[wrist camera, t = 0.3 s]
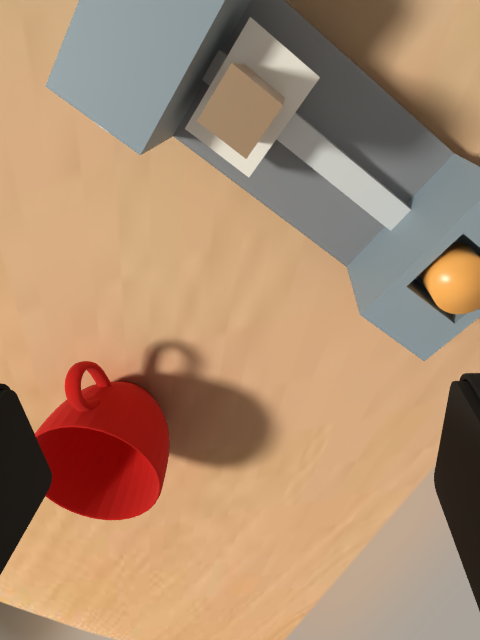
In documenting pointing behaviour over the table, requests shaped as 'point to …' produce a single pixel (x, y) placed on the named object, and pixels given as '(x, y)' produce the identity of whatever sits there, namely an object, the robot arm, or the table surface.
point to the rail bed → (341, 123)
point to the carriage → (251, 98)
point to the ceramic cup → (105, 447)
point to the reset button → (454, 279)
